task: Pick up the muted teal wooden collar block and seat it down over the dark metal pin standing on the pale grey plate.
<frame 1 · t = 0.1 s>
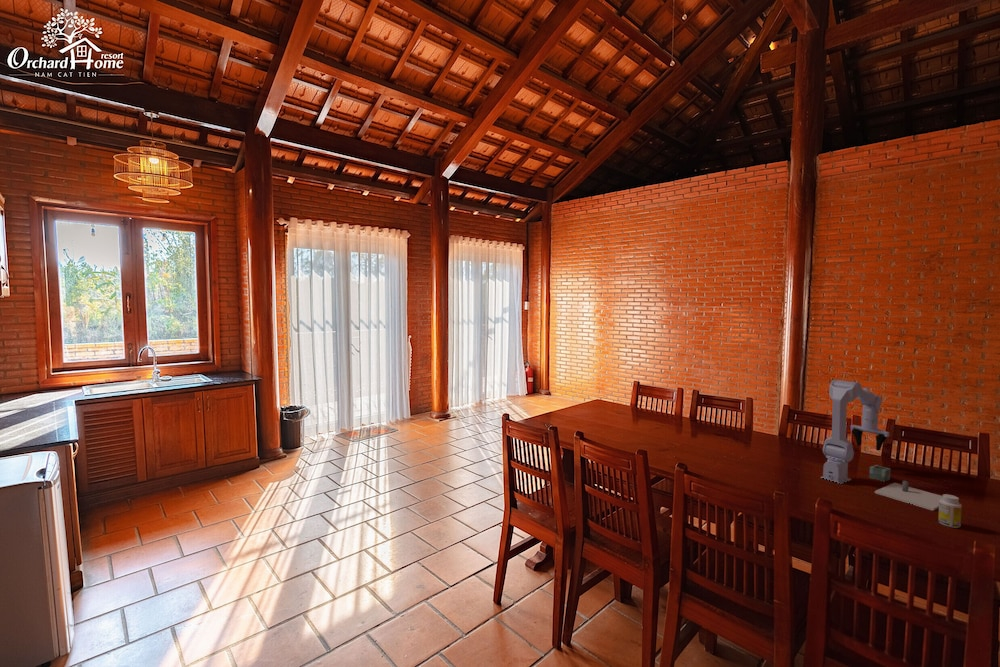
hand: (868, 447, 209), 10 cm above the table, tool pointing down, fingers open, 7 cm apart
supplement bottle: (949, 525, 156), on the table
pin plate: (905, 492, 182), on the table
collar: (879, 478, 197), on the table
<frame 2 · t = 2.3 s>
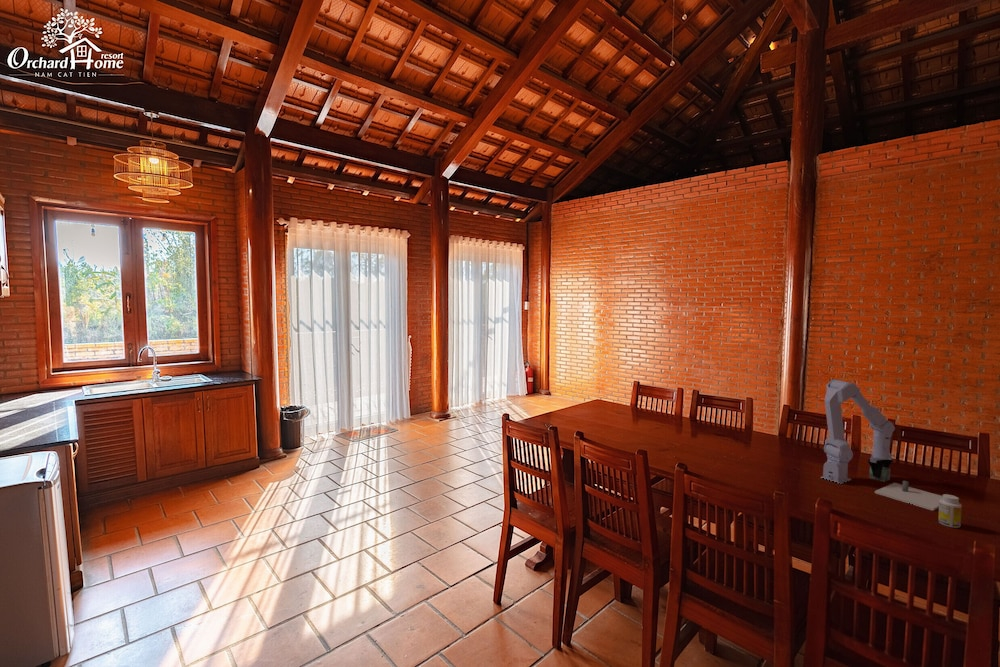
hand: (879, 475, 197), 1 cm above the table, tool pointing down, fingers closed on collar, 5 cm apart
collar: (879, 478, 197), on the table, touching gripper
everything else where it was.
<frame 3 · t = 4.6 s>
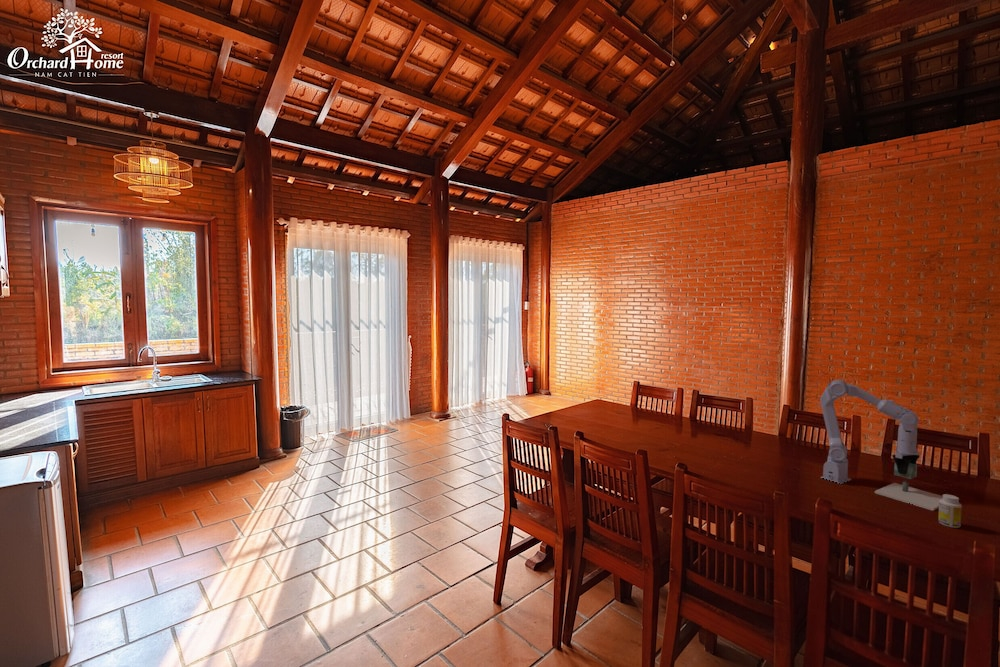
hand: (905, 472, 182), 8 cm above the table, tool pointing down, fingers closed on collar, 5 cm apart
collar: (905, 475, 182), point 7 cm above the table, touching gripper
everything else where it was.
when the fingers open (4 cm above the table, at t = 6.8 s): collar drops 1 cm, resting on pin plate.
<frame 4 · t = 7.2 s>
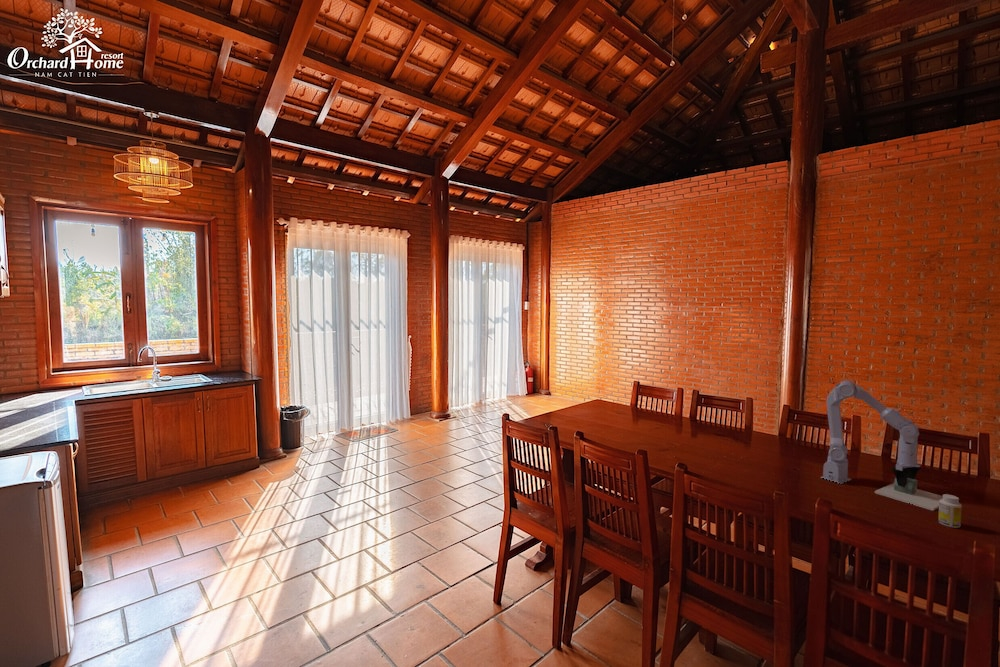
hand: (905, 484, 182), 4 cm above the table, tool pointing down, fingers open, 7 cm apart
collar: (905, 491, 182), point 1 cm above the table, touching pin plate
everything else where it was.
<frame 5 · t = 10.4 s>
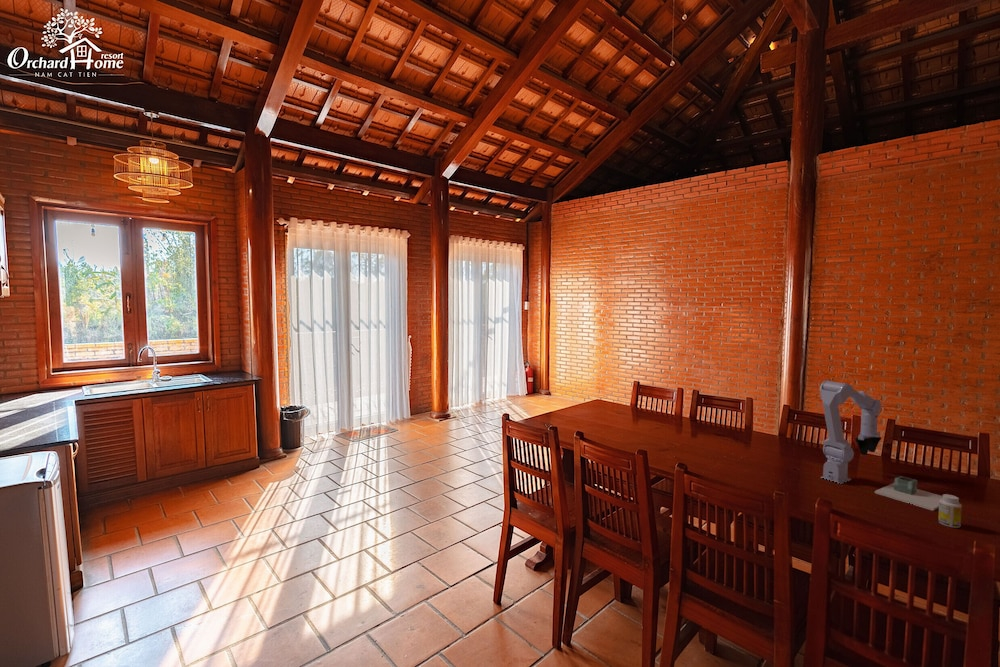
hand: (867, 453, 203), 9 cm above the table, tool pointing down, fingers open, 7 cm apart
nothing on the table moved.
at the end: collar 0.0 cm off-centre on the pin plate, point 0.8 cm above the pin plate's base; collar tilted 0°; the gripper is holding nothing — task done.
